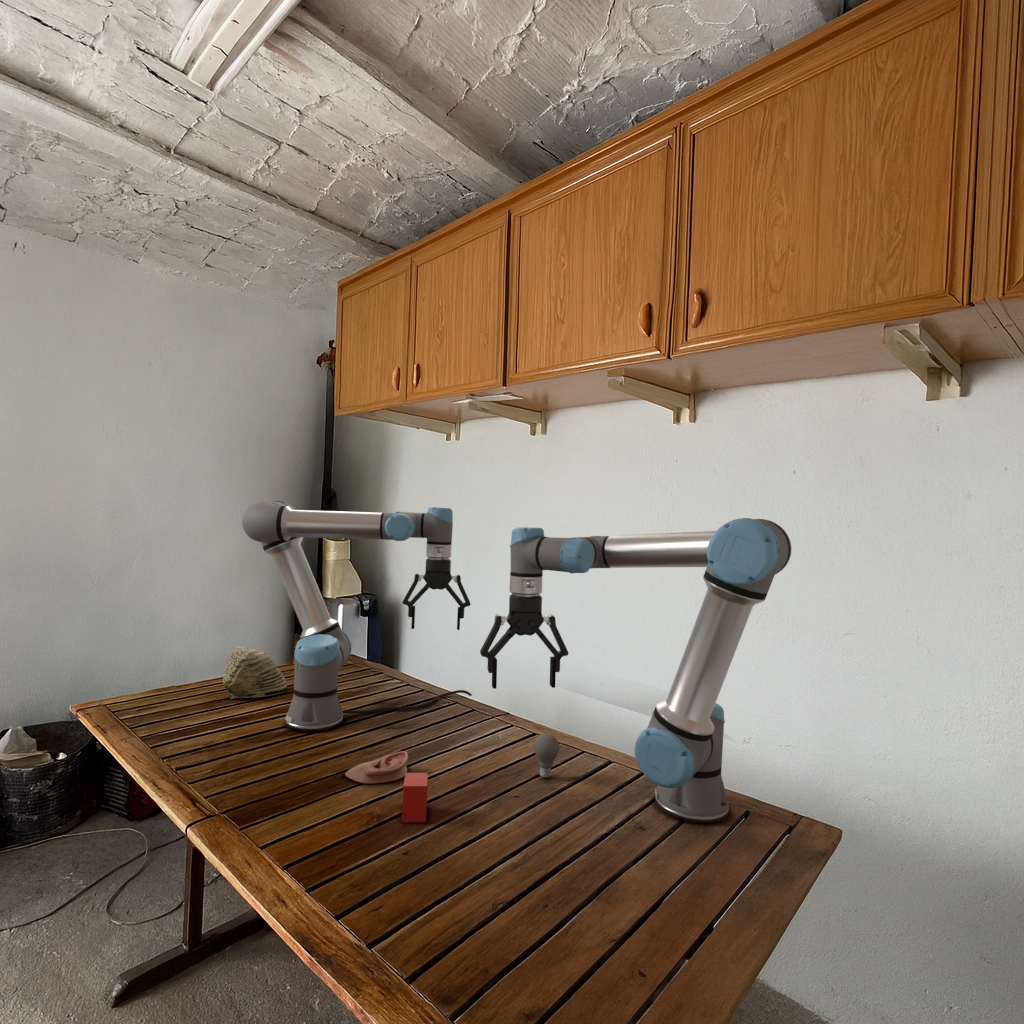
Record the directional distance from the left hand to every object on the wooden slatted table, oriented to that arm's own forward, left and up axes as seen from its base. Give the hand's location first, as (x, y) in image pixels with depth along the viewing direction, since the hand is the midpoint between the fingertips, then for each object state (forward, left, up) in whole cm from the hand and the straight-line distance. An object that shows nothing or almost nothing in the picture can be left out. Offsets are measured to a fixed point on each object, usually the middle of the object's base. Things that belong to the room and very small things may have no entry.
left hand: (435, 628), depth 191 cm
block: (+47, +43, -25) cm, 68 cm away
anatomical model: (+40, +23, -25) cm, 52 cm away
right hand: (+19, +48, -3) cm, 52 cm away
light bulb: (+14, +52, -25) cm, 59 cm away
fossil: (+30, -48, -25) cm, 62 cm away
